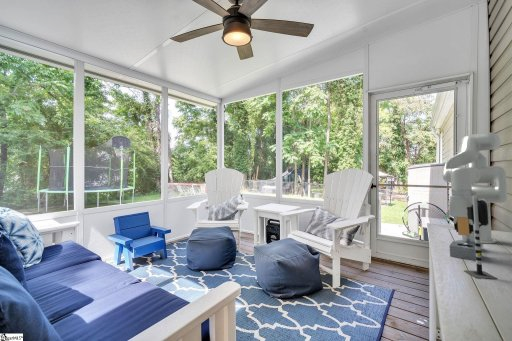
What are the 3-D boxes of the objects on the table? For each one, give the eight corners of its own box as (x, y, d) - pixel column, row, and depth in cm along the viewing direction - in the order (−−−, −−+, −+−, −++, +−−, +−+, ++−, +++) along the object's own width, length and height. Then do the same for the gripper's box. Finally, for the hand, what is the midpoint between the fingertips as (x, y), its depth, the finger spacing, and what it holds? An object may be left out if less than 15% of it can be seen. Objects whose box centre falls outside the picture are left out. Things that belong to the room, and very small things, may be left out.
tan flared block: (458, 233, 117) (457, 214, 117) (471, 234, 114) (470, 215, 114) (457, 234, 115) (455, 215, 115) (470, 236, 111) (469, 216, 111)
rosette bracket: (456, 244, 132) (455, 226, 132) (484, 248, 124) (483, 228, 124) (449, 256, 114) (447, 234, 115) (480, 261, 106) (479, 238, 107)
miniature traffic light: (499, 279, 88) (494, 197, 89) (475, 278, 90) (470, 197, 91) (484, 271, 96) (479, 195, 97) (462, 270, 97) (458, 196, 98)
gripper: (486, 193, 111) (488, 233, 111) (441, 192, 124) (443, 228, 123) (485, 194, 106) (488, 236, 106) (438, 193, 118) (440, 231, 118)
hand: (464, 231), depth 114 cm, fingers closed on tan flared block, 4 cm apart
